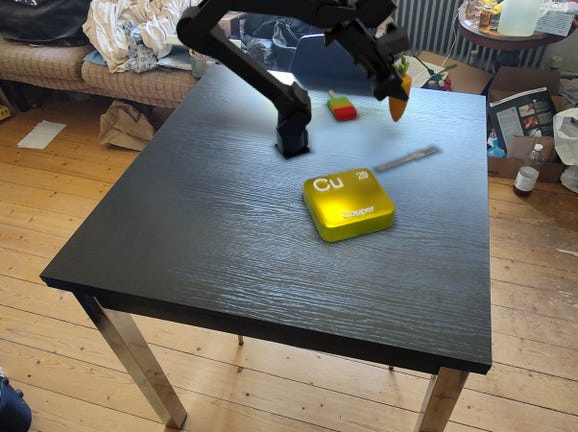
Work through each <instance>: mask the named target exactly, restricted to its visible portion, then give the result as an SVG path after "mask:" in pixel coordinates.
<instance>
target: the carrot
mask: <svg viewBox="0 0 578 432" xmlns="http://www.w3.org/2000/svg"><path fill="white" fill-rule="evenodd" d="M400 63H401V64H399V65H397V64H395V63H394V64H392V67H395V68H396V69H397V70H398V71H399V70H400V73H401V76H402V79H403V83H402V86H403V88H404V90H405V91H406V93H407V95H408V96H409V97H410V93H411V89H412V88H411V87H412V82H413V78H412V76H411V75H409V74H407V71H408V69H409V66H410V61H408V60H407V59H406V56H404V55H402V56H401V57H400ZM408 103H409V99H408V100H407V101H402V100H399V99H395V98H392V97H388V109H389V114H390V117H391V119H392V121H393V122H394V123H397V122H399V121H400V119H402V116H403V115H404V113H405V111H406V108H407V105H408Z"/></svg>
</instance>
